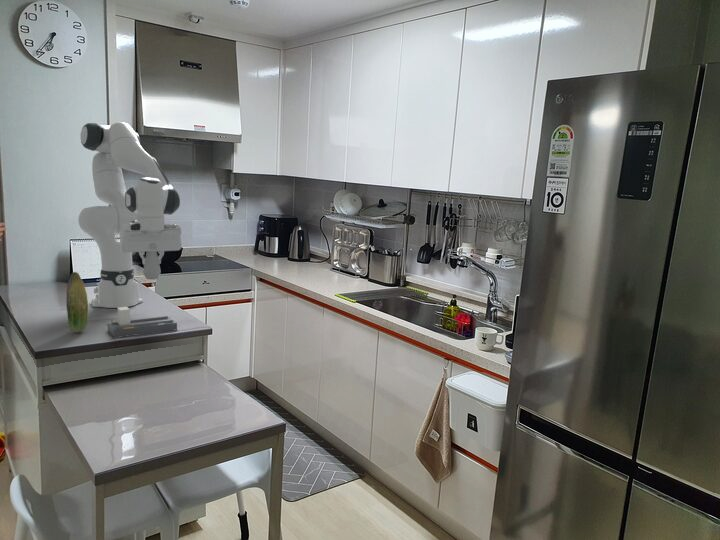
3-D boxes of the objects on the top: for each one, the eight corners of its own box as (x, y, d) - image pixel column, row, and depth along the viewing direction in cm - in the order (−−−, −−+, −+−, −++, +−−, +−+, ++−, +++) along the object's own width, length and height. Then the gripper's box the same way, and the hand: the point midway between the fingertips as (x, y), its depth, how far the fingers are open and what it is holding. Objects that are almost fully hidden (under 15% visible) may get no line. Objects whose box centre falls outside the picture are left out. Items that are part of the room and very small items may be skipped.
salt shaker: (154, 280, 186) (153, 243, 184) (139, 279, 187) (138, 242, 185) (164, 277, 192) (163, 241, 190) (149, 276, 193) (148, 240, 191)
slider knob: (117, 323, 178) (117, 307, 177) (127, 322, 179) (127, 306, 178) (120, 326, 174) (120, 310, 173) (130, 325, 176) (130, 309, 175)
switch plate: (108, 330, 178) (107, 321, 178) (169, 323, 190) (168, 314, 190) (114, 337, 171) (113, 327, 171) (177, 329, 183) (176, 320, 183)
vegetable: (92, 330, 178) (89, 271, 175) (84, 335, 172) (82, 274, 169) (72, 330, 177) (70, 270, 174) (64, 335, 171) (61, 274, 168)
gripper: (178, 223, 195) (178, 261, 197) (117, 224, 183) (119, 264, 185) (183, 225, 190) (184, 263, 192) (122, 226, 178) (123, 267, 180)
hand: (151, 264), depth 189 cm, fingers closed on salt shaker, 3 cm apart
